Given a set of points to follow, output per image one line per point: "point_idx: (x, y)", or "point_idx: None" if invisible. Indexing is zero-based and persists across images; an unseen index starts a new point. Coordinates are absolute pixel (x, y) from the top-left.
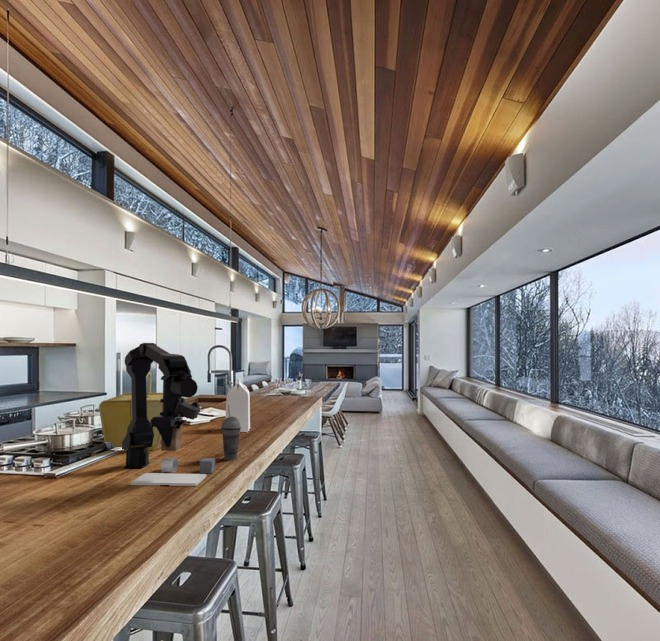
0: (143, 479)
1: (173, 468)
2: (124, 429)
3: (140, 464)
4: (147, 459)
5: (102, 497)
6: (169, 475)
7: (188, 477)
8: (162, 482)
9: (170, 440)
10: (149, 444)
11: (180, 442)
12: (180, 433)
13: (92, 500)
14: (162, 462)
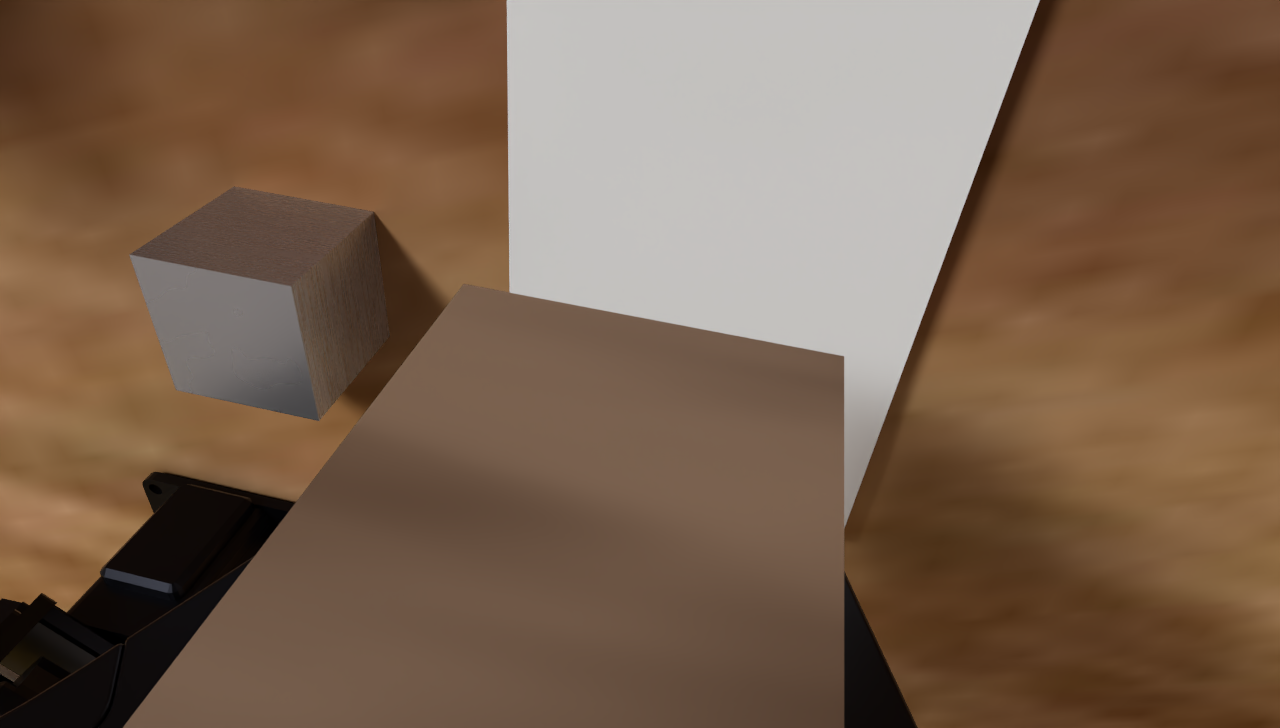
0: None
1: (334, 229)
2: None
3: (265, 536)
4: (183, 521)
5: (1193, 657)
6: (602, 222)
7: None
8: (931, 250)
9: (887, 709)
10: (27, 634)
11: (435, 374)
12: (305, 615)
13: (1256, 701)
14: (329, 392)
